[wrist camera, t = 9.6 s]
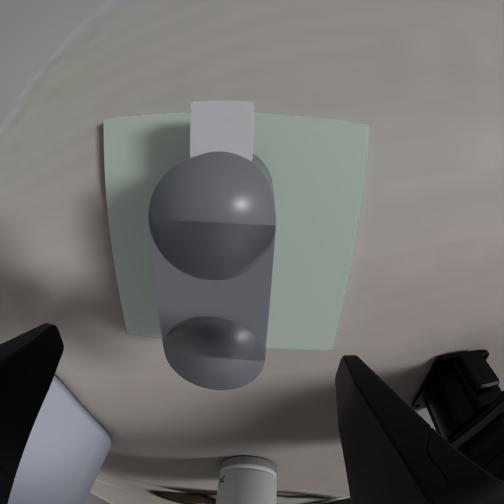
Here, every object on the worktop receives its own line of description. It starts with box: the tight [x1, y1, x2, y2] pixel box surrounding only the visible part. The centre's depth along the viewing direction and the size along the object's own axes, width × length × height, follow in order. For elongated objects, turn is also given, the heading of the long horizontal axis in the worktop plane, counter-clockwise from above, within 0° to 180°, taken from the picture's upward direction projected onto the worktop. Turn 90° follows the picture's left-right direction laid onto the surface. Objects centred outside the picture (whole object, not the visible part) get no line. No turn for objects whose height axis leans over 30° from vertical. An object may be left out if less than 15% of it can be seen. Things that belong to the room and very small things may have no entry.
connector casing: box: [148, 101, 276, 390], centre depth 13 cm, size 12×4×6 cm, turn 178°
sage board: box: [104, 112, 370, 350], centre depth 17 cm, size 14×14×1 cm
